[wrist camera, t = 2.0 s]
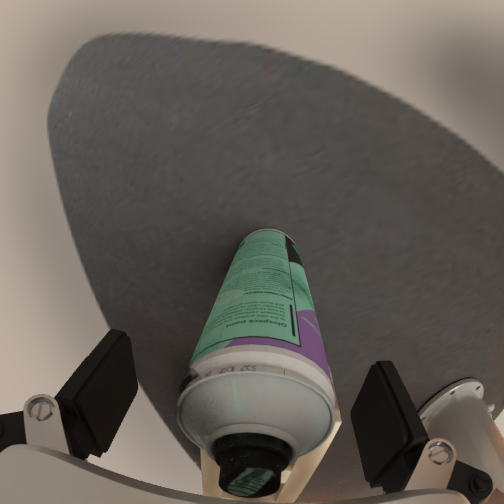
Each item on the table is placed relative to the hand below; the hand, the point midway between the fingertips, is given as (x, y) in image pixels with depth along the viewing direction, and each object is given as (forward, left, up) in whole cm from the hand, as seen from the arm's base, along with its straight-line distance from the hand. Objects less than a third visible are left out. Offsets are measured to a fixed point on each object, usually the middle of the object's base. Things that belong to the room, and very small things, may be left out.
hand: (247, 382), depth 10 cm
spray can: (0, 0, -16) cm, 16 cm away
